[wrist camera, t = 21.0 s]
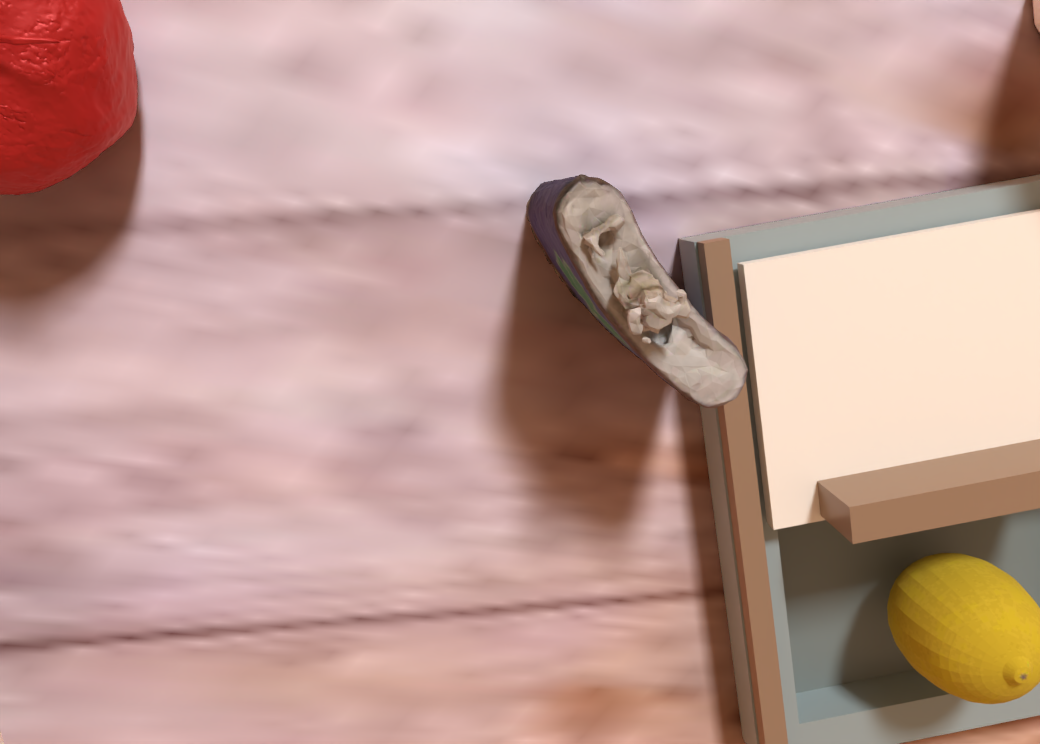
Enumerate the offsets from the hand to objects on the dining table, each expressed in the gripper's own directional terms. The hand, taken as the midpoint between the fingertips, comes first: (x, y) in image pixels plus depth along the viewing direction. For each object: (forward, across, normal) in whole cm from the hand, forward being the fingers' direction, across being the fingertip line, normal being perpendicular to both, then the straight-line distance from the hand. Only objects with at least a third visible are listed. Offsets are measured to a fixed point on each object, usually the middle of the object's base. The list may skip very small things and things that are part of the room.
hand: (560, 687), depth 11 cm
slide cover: (+24, +18, -4) cm, 30 cm away
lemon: (+27, +18, -15) cm, 36 cm away
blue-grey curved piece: (+27, +6, +2) cm, 28 cm away
